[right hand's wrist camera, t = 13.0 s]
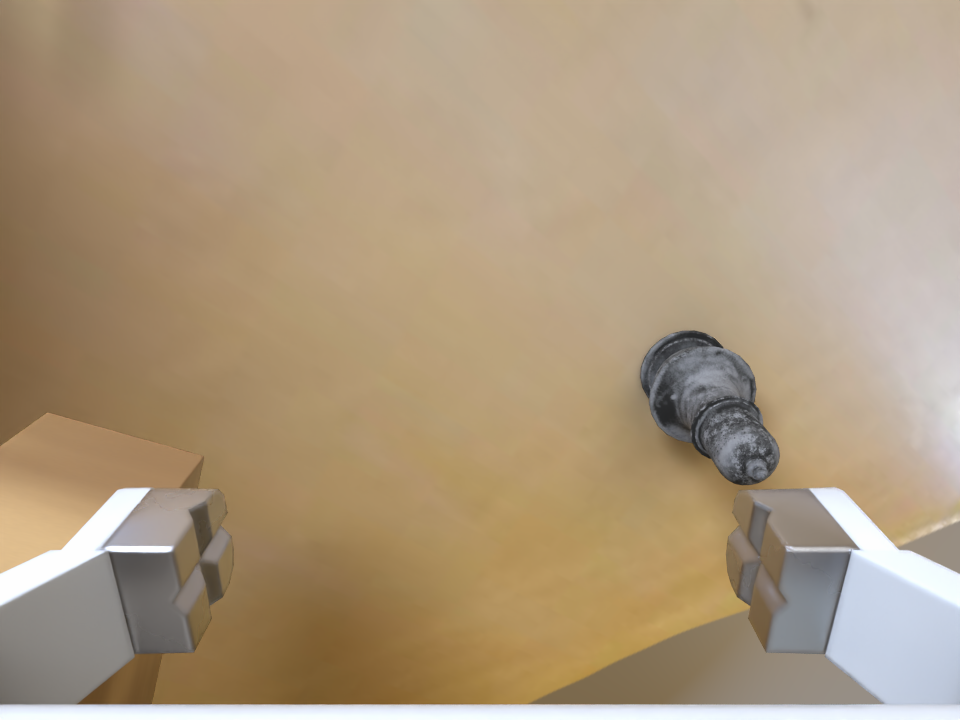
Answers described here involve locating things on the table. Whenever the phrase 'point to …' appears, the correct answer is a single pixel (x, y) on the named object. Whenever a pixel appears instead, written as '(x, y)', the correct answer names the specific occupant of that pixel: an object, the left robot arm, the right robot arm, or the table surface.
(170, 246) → the table surface
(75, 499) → the box
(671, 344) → the grey chess piece
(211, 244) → the table surface
